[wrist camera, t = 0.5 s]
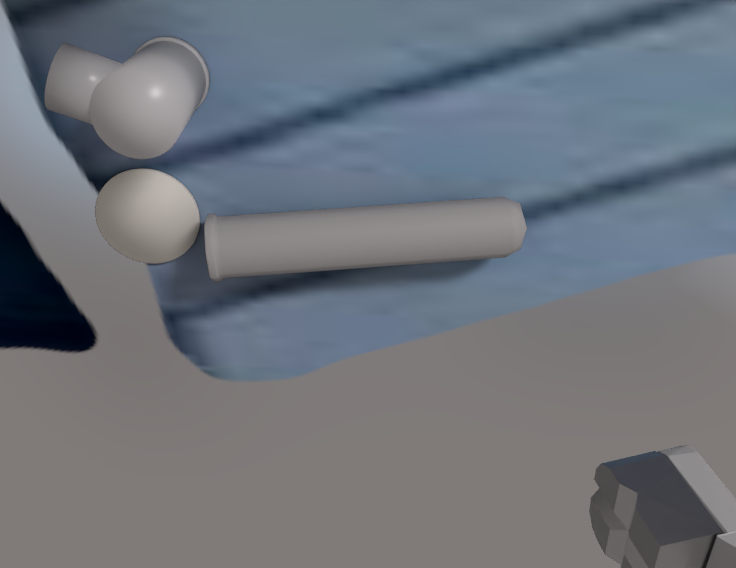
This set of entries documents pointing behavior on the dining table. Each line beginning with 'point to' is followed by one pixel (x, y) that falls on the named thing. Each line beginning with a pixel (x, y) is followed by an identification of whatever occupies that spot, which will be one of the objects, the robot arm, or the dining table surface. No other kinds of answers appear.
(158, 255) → the flange
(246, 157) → the dining table surface
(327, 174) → the dining table surface
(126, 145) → the elbow
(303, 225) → the tube
